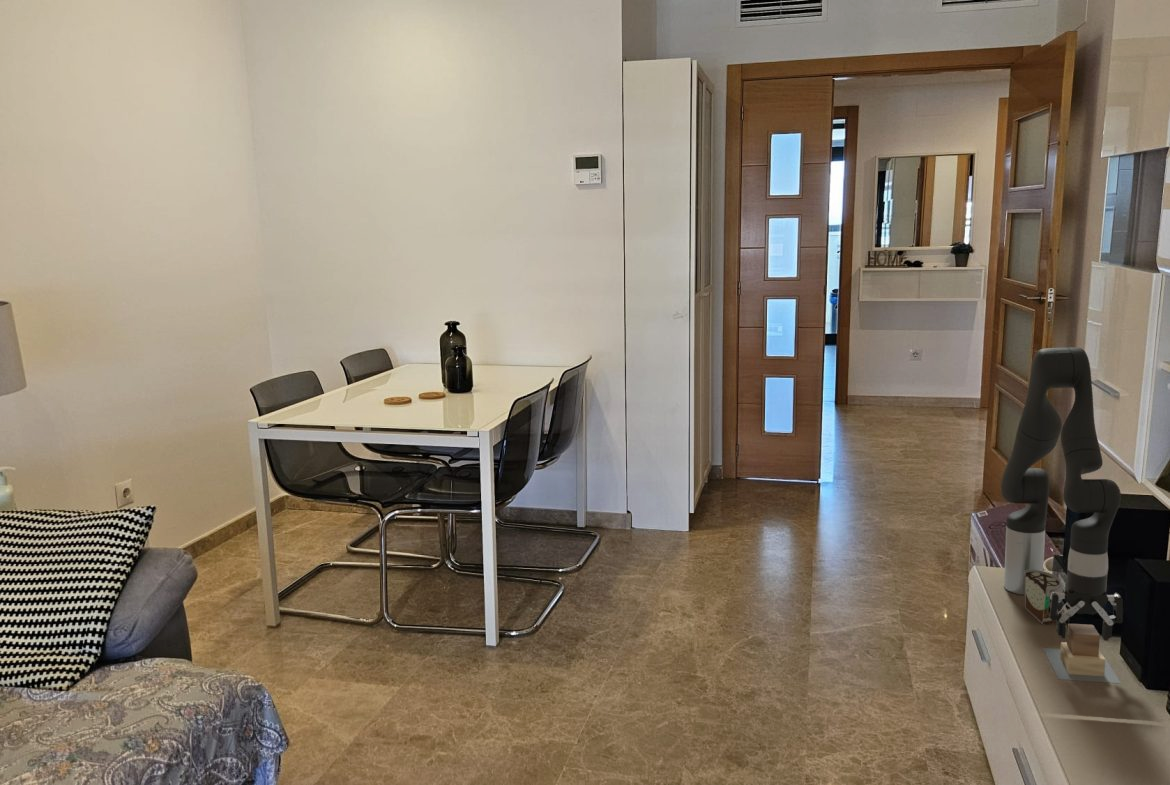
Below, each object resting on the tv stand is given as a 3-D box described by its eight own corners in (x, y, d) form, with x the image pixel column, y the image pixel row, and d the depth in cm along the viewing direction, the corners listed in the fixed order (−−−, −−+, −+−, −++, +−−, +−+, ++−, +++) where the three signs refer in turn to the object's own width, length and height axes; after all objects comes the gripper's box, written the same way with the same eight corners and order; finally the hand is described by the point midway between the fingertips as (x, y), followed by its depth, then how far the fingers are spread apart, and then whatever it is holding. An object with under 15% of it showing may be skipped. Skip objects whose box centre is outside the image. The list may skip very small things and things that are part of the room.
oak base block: (1060, 658, 201) (1060, 642, 200) (1094, 660, 199) (1095, 643, 199) (1068, 674, 194) (1069, 657, 194) (1104, 676, 193) (1105, 659, 192)
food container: (1071, 626, 217) (1073, 587, 215) (1045, 627, 217) (1047, 588, 215) (1046, 604, 229) (1048, 567, 227) (1022, 605, 229) (1023, 568, 227)
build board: (1042, 650, 206) (1042, 648, 206) (1100, 653, 203) (1100, 651, 203) (1058, 681, 193) (1058, 679, 193) (1120, 685, 190) (1121, 683, 190)
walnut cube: (1066, 644, 199) (1067, 623, 198) (1091, 645, 198) (1092, 624, 197) (1072, 655, 194) (1074, 633, 193) (1098, 656, 193) (1099, 635, 192)
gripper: (1118, 563, 194) (1114, 632, 197) (1046, 560, 198) (1043, 628, 201) (1130, 577, 187) (1125, 648, 190) (1055, 574, 190) (1052, 644, 194)
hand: (1083, 638), depth 196 cm, fingers open, 8 cm apart
